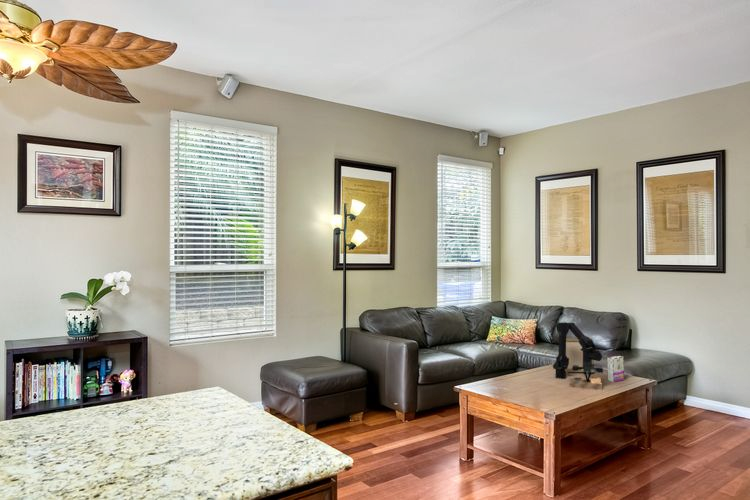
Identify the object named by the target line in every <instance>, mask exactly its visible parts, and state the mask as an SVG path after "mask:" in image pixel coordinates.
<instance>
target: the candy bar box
mask: <svg viewBox="0 0 750 500" xmlns="http://www.w3.org/2000/svg"><path fill="white" fill-rule="evenodd" d="M606 360H607V381H608V382H610V383H611V382H613V383H616V382H617V381H618V382H621V381H625V359H624V356H621V355H614V356H608V357H607V359H606Z"/></svg>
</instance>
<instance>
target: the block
mask: <svg viewBox="0 0 750 500" xmlns="http://www.w3.org/2000/svg"><path fill="white" fill-rule="evenodd" d="M601 378H602V377H601V376H590V380H591V383H592V382H593V383H601Z"/></svg>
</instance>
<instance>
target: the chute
mask: <svg viewBox="0 0 750 500" xmlns="http://www.w3.org/2000/svg"><path fill="white" fill-rule="evenodd" d="M568 386H569V388H572V387H573V388H580V389H582V388H583V389H592V390H593V389H594V390H603V380H601V383H593V382H592V383H591V379H589V381H588V382H587V380H586V378H585V379H584V378H583V379H582V377H576V376H575V377H573V378H571V377H569V381H568Z"/></svg>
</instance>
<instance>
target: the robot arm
mask: <svg viewBox="0 0 750 500" xmlns="http://www.w3.org/2000/svg"><path fill="white" fill-rule="evenodd" d="M555 327H556V332H557V334H558V355H557V356H556V358H555V362H554V364H553V365H552V368H553V369H554V370H555V378H556V379H566V378H567V372H566V371H565V369H567V368H568V365H569V358H567V356H566V338H567V336H568V333H569V332H571V333H572V334H573V335H574V336H575V338H577V339H578V340H579V344H580V345H581V347H582V349H580V350H581V351H583V367H579V365H573V366H572V370H573V371H578V370H582V372H581V373H583V375H584V377H585V379H586V380H587V382H588V381H589V380H590V379H591V377H592V374H594V373H595V372H596V373H599V374H603V373H604V368H603V367H602V366H596V367H595V364H592V360H594V361H596V362H600V361H602V358H603V355H602V352H600V350H598V348H597V347H596V345H595V342H594V341H593V339H592V338H590V337H588V336H586V335H585V334H584V333H583V332H582V331H581V329H580V328H578V326H577V325H576V323H575V322H566V321H563V322H557V323H556V325H555ZM591 339H592V340H591ZM587 371H588V372H589V373H587ZM593 372H594V373H593Z"/></svg>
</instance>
